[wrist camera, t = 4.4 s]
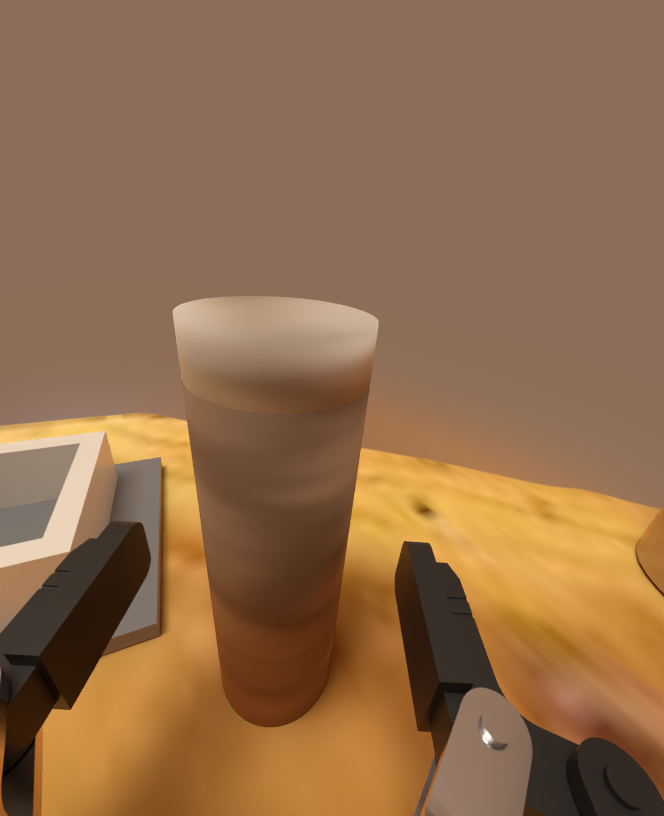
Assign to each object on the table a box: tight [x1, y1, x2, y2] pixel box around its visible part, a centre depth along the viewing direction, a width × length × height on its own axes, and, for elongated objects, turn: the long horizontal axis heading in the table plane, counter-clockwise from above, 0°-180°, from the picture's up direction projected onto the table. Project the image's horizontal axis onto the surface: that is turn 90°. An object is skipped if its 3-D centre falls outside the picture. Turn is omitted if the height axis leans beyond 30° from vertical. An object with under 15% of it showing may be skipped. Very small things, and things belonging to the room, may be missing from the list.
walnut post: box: [173, 296, 379, 727], centre depth 12 cm, size 5×5×16 cm
